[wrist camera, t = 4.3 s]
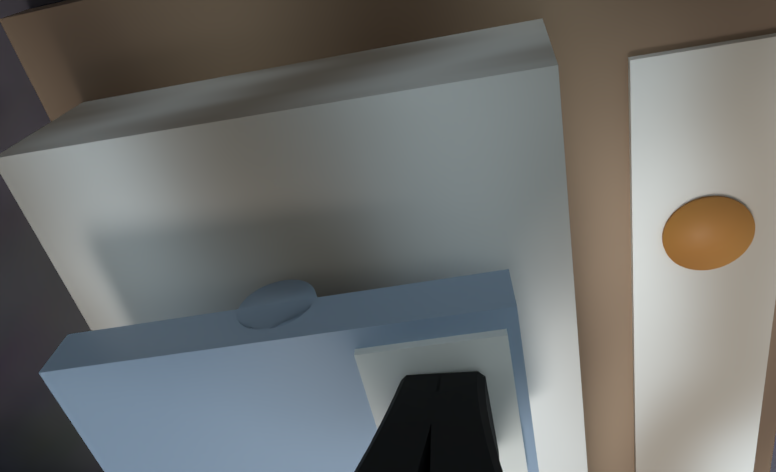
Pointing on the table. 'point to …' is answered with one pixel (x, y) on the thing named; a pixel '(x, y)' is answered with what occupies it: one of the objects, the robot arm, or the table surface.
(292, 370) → the blue rectangular block
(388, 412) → the robot arm
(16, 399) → the table surface
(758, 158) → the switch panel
